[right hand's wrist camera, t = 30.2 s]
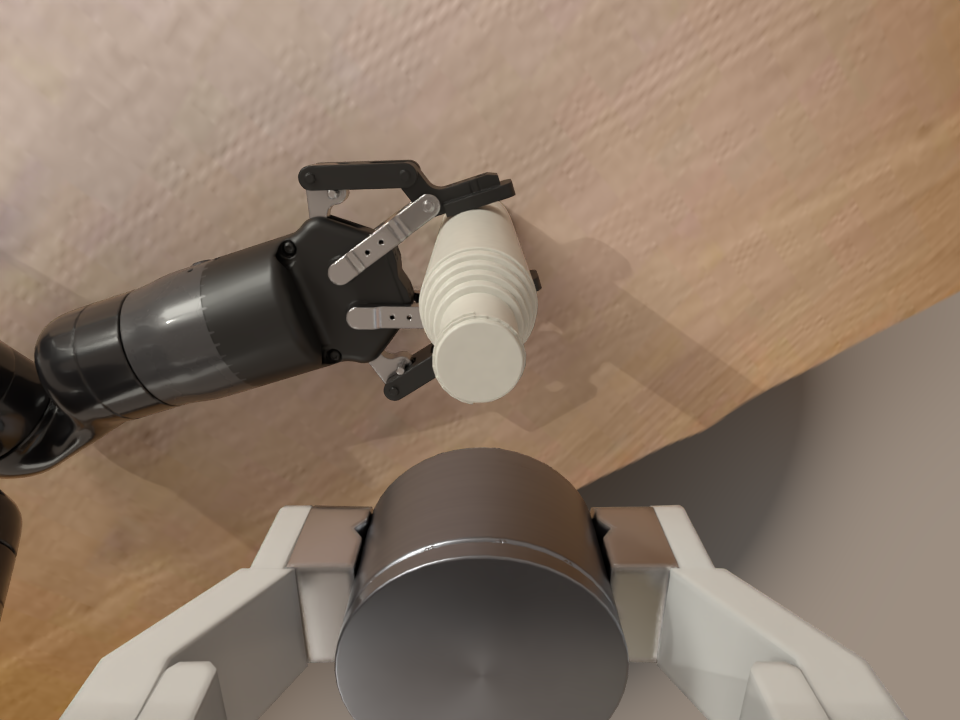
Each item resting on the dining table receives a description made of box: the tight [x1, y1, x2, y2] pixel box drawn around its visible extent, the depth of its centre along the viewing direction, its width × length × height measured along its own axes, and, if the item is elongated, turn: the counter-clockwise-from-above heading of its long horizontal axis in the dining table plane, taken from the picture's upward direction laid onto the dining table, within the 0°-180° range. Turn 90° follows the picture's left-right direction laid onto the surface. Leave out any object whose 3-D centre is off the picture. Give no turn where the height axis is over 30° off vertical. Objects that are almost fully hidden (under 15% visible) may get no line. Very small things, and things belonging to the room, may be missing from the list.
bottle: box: [419, 201, 538, 404], centre depth 29 cm, size 4×4×23 cm
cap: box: [335, 448, 629, 720], centre depth 9 cm, size 4×4×3 cm
